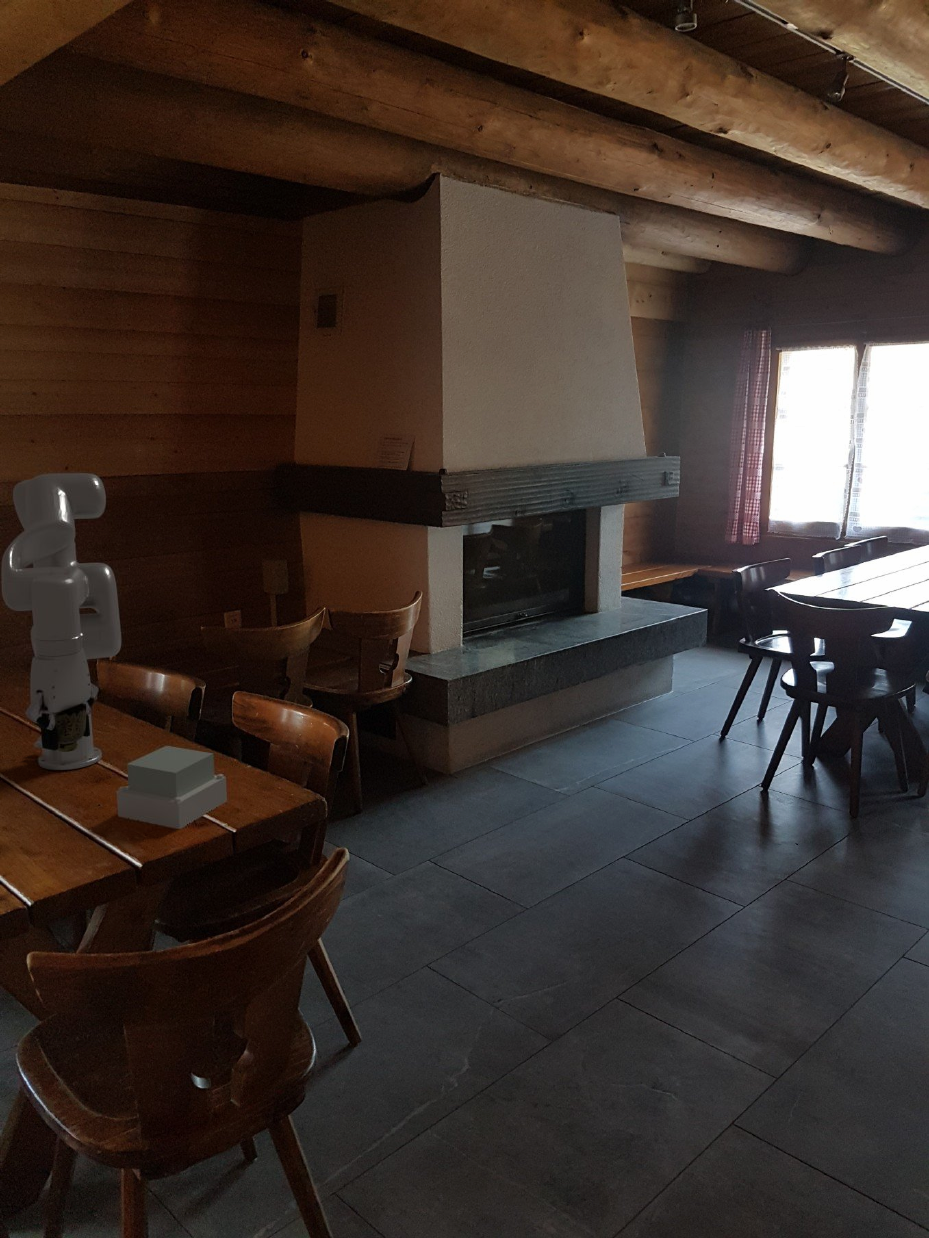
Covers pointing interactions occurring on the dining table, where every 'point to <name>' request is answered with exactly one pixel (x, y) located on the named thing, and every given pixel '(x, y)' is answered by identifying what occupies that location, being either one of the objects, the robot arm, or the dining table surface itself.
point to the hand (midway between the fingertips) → (66, 741)
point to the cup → (70, 727)
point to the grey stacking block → (171, 787)
